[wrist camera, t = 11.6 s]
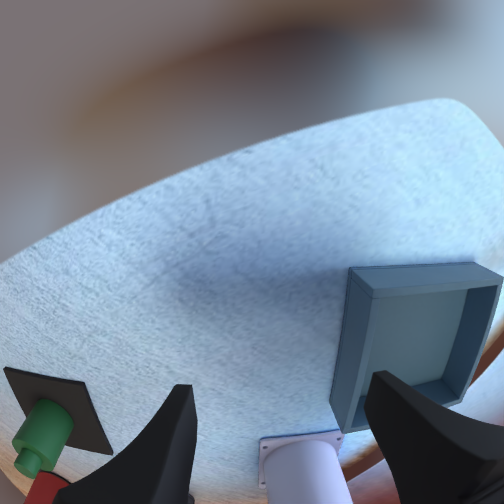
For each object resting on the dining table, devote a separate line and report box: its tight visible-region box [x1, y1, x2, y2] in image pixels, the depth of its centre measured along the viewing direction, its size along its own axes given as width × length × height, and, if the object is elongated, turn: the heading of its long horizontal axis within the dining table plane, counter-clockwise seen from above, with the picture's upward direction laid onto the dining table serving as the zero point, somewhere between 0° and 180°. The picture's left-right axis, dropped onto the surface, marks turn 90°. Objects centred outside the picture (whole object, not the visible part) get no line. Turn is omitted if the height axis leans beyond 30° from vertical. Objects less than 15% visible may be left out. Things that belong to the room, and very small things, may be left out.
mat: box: [3, 367, 113, 455], centre depth 23 cm, size 10×10×1 cm
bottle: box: [12, 399, 74, 479], centre depth 18 cm, size 4×4×8 cm
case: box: [330, 262, 504, 434], centre depth 20 cm, size 12×12×4 cm
